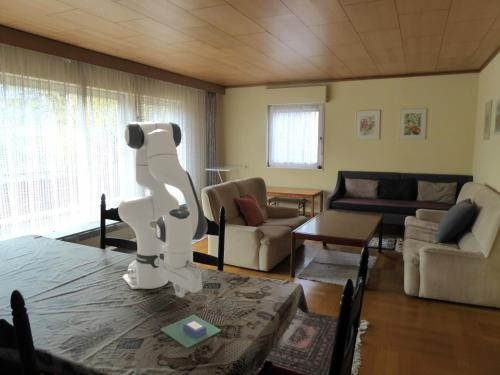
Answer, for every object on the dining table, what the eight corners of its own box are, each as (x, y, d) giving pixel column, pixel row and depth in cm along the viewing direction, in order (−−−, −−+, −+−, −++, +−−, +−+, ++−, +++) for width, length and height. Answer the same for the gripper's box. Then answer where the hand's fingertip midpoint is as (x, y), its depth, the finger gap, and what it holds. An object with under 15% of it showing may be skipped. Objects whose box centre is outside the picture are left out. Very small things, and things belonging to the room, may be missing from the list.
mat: (160, 329, 123) (160, 328, 122) (193, 315, 133) (193, 314, 133) (187, 348, 112) (187, 347, 112) (221, 331, 122) (221, 330, 122)
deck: (193, 319, 124) (206, 326, 120) (193, 325, 125) (206, 333, 120) (183, 323, 121) (196, 331, 117) (183, 330, 122) (196, 338, 117)
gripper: (206, 263, 118) (206, 303, 121) (170, 248, 132) (171, 284, 134) (190, 268, 114) (190, 309, 116) (155, 252, 128) (156, 289, 130)
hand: (179, 295), depth 125 cm, fingers closed
